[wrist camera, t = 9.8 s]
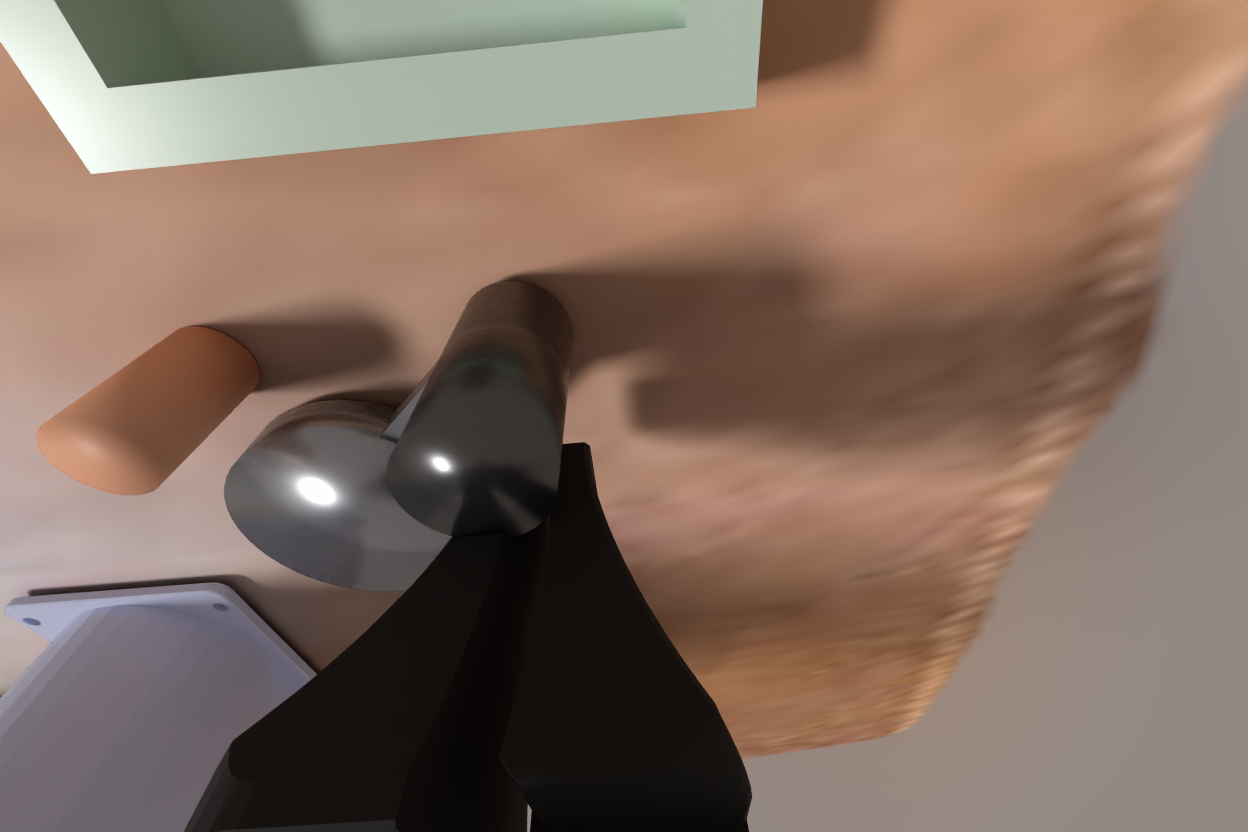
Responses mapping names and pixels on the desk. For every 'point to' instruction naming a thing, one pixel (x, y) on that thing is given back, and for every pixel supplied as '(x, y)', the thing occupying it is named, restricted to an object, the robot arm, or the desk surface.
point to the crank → (418, 454)
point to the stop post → (150, 412)
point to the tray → (366, 70)
